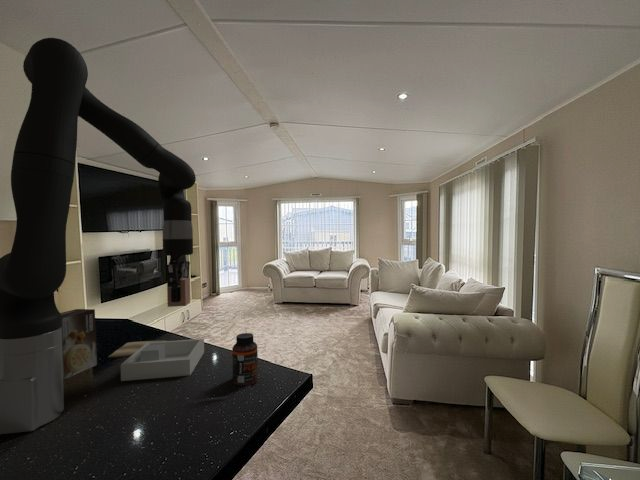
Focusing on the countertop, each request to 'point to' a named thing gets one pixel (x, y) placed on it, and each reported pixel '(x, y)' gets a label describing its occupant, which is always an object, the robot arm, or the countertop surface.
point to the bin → (164, 361)
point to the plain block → (153, 353)
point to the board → (130, 348)
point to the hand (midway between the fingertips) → (179, 299)
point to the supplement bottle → (245, 360)
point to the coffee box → (78, 341)
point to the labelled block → (184, 294)
